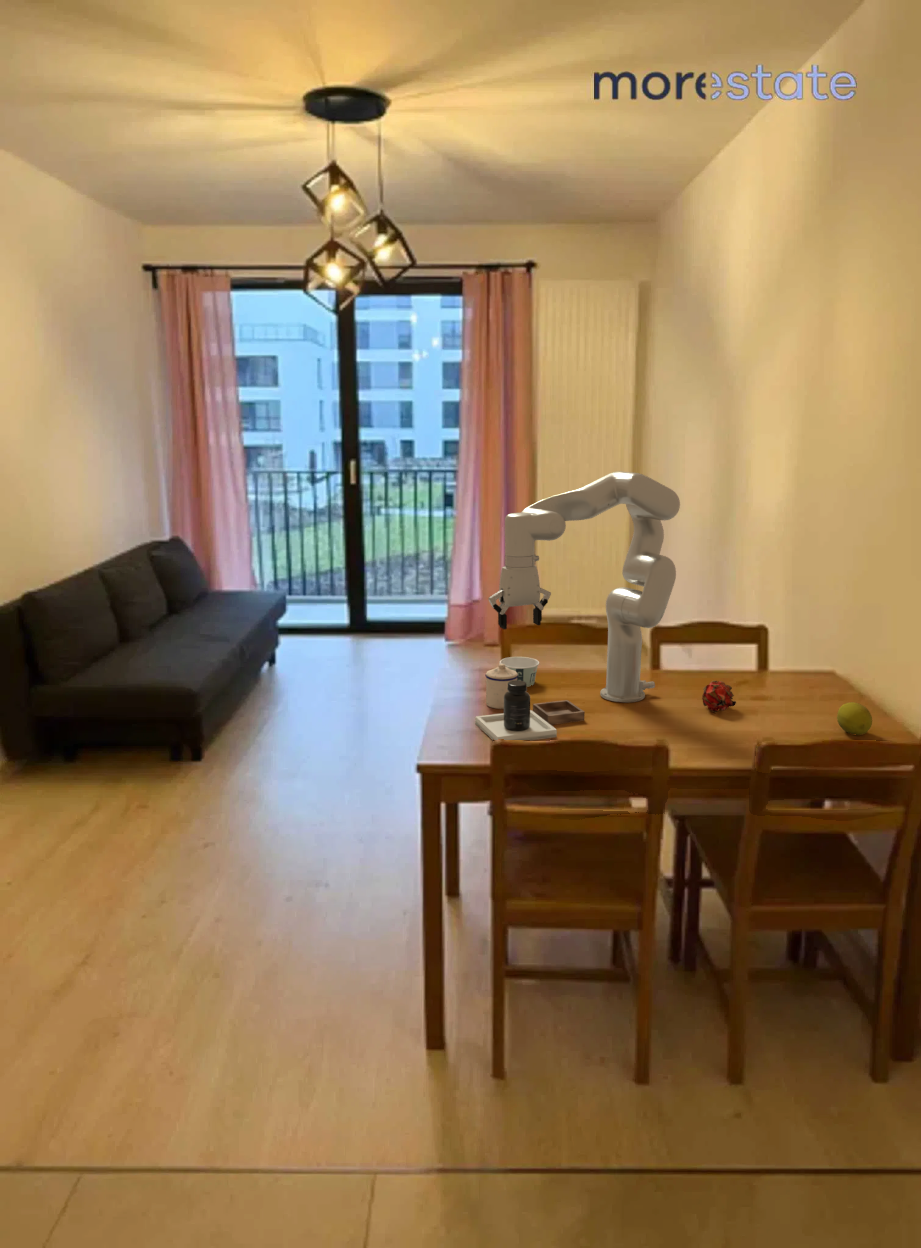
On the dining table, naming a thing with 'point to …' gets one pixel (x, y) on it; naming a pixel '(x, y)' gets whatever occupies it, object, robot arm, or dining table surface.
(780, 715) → the dining table surface
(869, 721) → the lemon
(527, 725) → the supplement bottle
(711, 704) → the dragon fruit
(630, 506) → the robot arm
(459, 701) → the dining table surface
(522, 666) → the food container
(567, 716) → the holder
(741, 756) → the dining table surface
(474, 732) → the dining table surface
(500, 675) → the teacup with lid
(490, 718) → the tray
